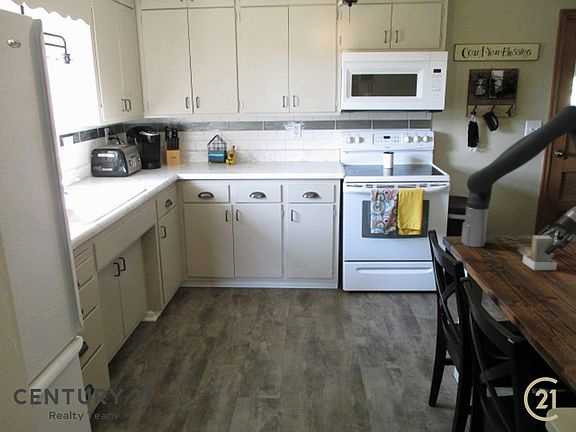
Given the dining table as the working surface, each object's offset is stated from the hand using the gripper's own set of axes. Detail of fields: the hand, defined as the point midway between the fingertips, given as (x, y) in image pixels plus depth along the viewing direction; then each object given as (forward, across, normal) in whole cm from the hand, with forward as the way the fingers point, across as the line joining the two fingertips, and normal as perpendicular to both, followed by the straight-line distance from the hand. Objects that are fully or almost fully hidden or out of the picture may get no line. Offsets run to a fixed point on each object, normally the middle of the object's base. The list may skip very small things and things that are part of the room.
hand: (540, 249), depth 192 cm
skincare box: (+5, 0, +5) cm, 7 cm away
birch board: (0, -14, +10) cm, 17 cm away
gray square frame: (+4, 0, +5) cm, 7 cm away
